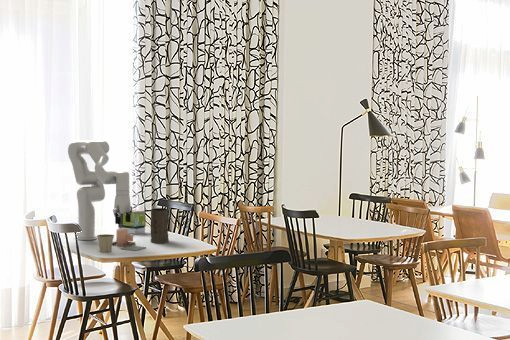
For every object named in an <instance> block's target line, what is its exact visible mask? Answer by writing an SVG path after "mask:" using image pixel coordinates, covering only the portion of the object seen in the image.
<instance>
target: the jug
mask: <svg viewBox="0 0 510 340" xmlns="http://www.w3.org/2000/svg"><path fill="white" fill-rule="evenodd" d="M115 234H116V240H115V242H116V245H115V246H116V247H124V244H128V241H129V242H134V234H130V233H128V229H118V228H117V229H116V233H115Z"/></svg>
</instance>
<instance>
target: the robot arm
mask: <svg viewBox="0 0 510 340" xmlns="http://www.w3.org/2000/svg"><path fill="white" fill-rule="evenodd" d="M109 151H110V145H109V143H108V142H107V141H106V140H104V139H103V140H102V139H97V140H96V139H92V140H83V139H82V140H74V141H71V142H69V145H68V147H67V153H68V154H67V155H68V158H69V160H70V162H71V163H70V164H71V165H72V170H73V175H74V178H75V183H76V184H77V185H79V186H82V187H79V189H78V190H77V191H76V199H77V205H78V209H77V210H78V223H77V224H78V225H79V226H80V227H81V229H82V232H80V233H77V234H76V236H78V239H77V240H79V241H90V240H91V241H92V240H98V238H97V235H95V233H96V232H95V224H96V223H95V219H96V218H95V217H96V215H95V214H96V213H95V206H94V205H93V203H95V202H101V201H103V200H104V199H105V197H106V192H105V191H106V190H105V186H104V185H115V197H114V204H113V205H114V207H113V209H112V212H113V215H114V223H115V225H118V224H120V215H121V213H126V215H125V221H126V222H131V212H132V210H133V206H131V199H130V197H131V196H130V173H129V172H128V171H120V170H110V171H109V170H108V171H106V169H104V166H105V165H106V164H107V163H109V158H110V157H109V155H108V153H109ZM82 155H89V156H90V158H91V159H92V161H93V162H94V164H95V165H94V168H93V169H89V167H88V163H87V161H86V159H85V158H84V156H82ZM127 212H128V213H127Z"/></svg>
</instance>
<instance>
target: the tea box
mask: <svg viewBox="0 0 510 340" xmlns="http://www.w3.org/2000/svg"><path fill="white" fill-rule="evenodd" d="M127 213H128V212H127ZM125 215H126V213H121V215H120V224H117V225H118V226H117V227H118V228H117V229H128V234H129V235H138V234H144V233H146V211H145V210H143V209H142V210H140V209H132V212H131V222H126V221H125Z"/></svg>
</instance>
